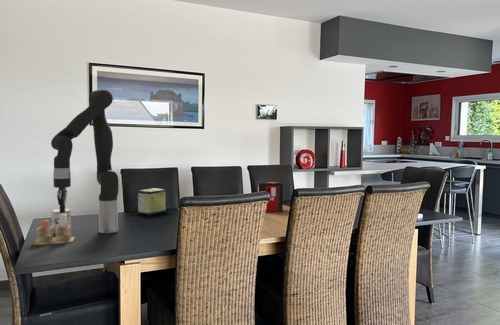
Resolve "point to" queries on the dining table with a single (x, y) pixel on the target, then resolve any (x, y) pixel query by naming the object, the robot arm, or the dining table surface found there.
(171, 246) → the dining table surface
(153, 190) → the protein box
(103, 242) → the dining table surface
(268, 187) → the cleaning product box
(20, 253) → the dining table surface
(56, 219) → the ink box
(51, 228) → the socket block
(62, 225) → the grey plug
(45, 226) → the terracotta plug
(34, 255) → the dining table surface
